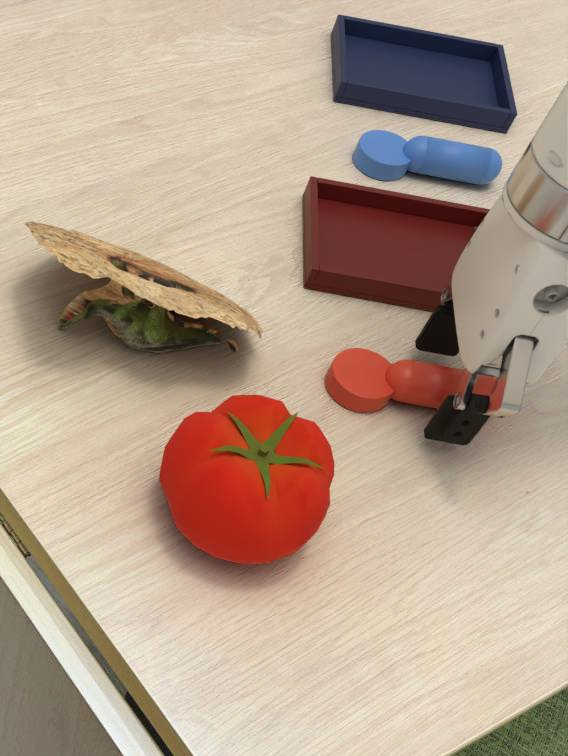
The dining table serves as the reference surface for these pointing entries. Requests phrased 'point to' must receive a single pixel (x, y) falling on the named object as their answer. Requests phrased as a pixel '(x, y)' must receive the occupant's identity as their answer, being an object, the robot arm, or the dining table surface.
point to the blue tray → (421, 74)
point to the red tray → (382, 242)
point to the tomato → (248, 479)
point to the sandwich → (140, 295)
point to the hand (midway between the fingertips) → (439, 392)
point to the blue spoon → (424, 158)
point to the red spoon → (392, 381)
